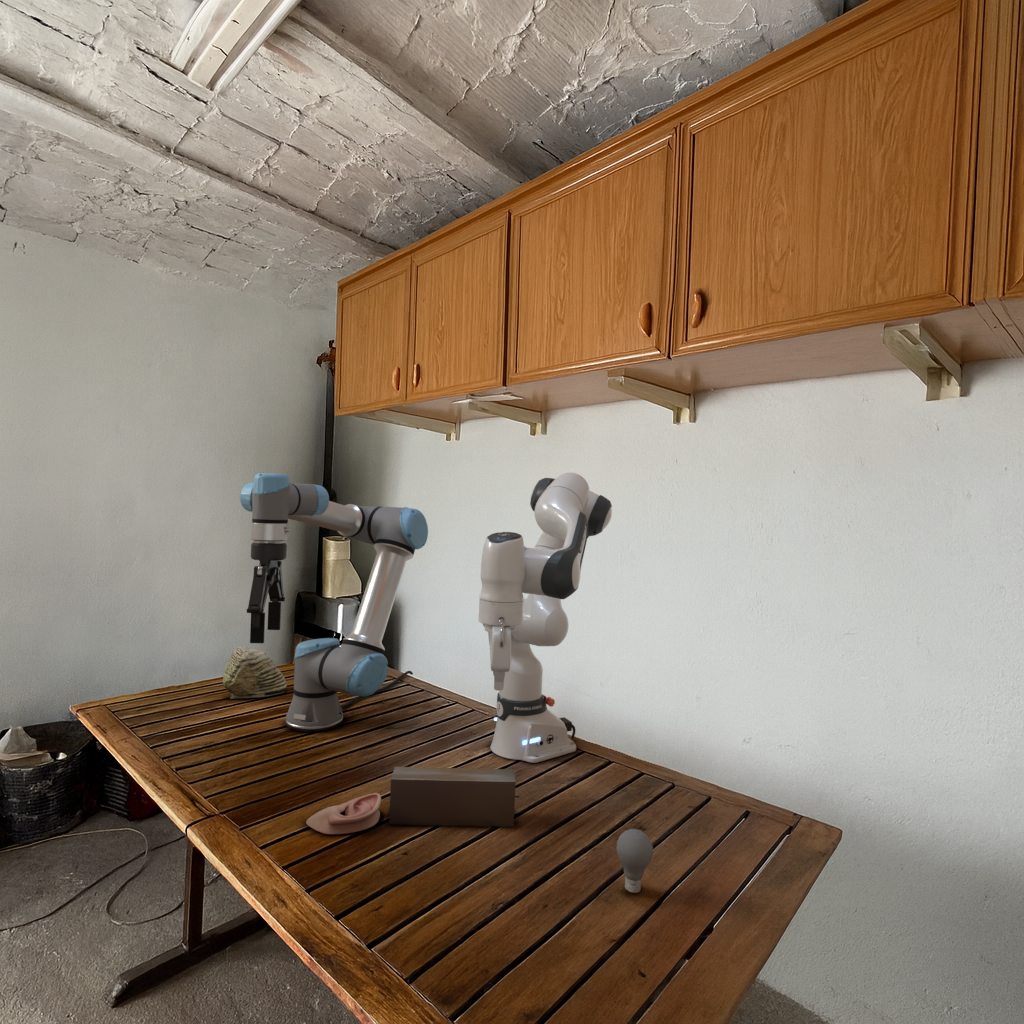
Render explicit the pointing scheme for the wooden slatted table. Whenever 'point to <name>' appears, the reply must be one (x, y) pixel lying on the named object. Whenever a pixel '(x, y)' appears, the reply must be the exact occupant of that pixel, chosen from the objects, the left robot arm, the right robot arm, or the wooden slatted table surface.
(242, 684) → the fossil
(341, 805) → the anatomical model
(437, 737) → the wooden slatted table surface
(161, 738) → the wooden slatted table surface
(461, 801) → the bar
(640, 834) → the light bulb
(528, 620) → the right robot arm
